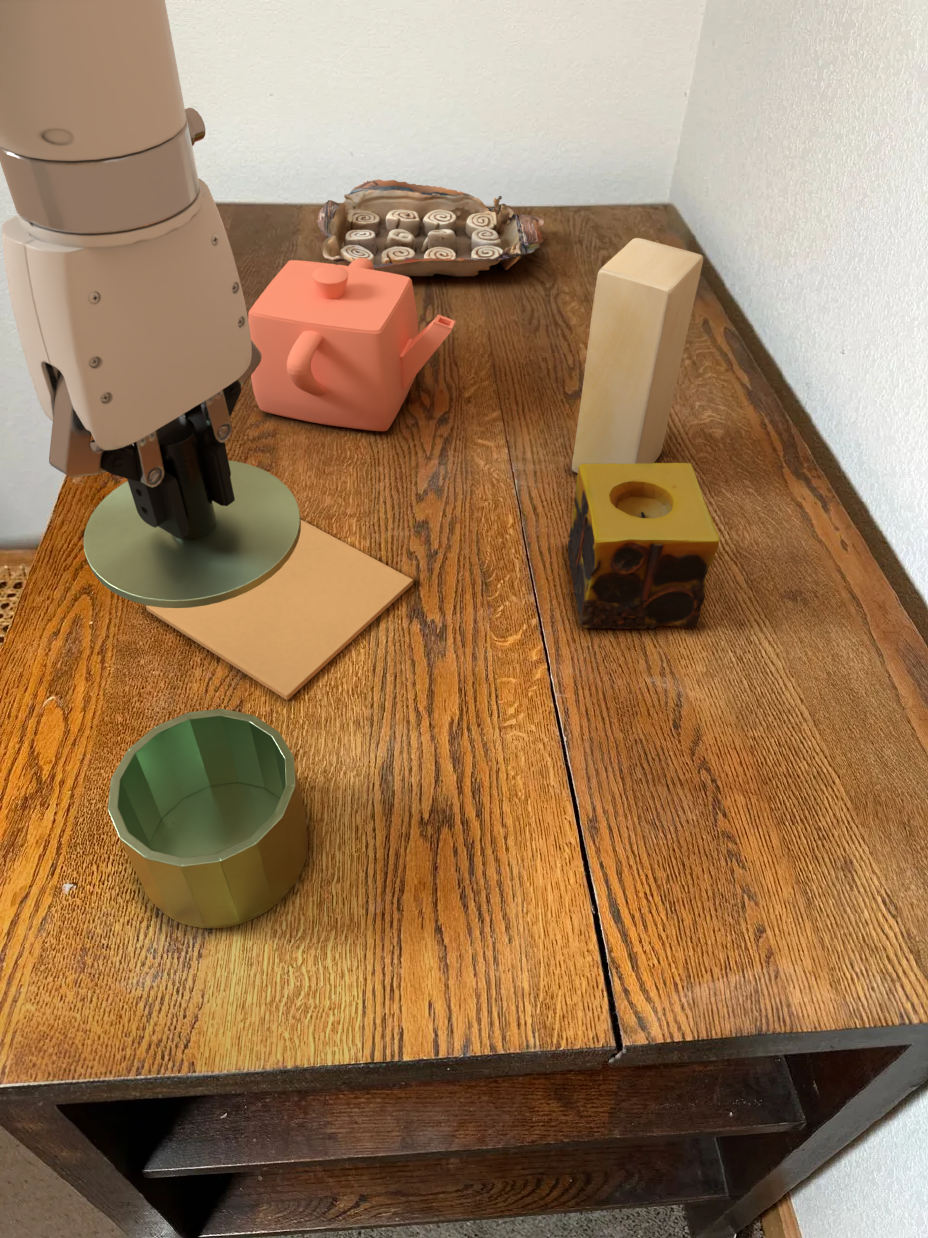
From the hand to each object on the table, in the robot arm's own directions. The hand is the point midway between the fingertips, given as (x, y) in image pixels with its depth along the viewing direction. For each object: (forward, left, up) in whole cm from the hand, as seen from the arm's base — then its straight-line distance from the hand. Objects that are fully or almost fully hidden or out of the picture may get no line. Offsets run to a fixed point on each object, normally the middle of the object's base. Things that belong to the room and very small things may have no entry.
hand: (189, 508), depth 52 cm
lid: (0, 0, -2) cm, 2 cm away
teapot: (+40, +22, -24) cm, 52 cm away
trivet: (+13, +9, -23) cm, 28 cm away
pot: (-7, -5, -23) cm, 25 cm away
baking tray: (+72, +37, -24) cm, 84 cm away
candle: (+32, -15, -24) cm, 42 cm away
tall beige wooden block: (+47, -5, -24) cm, 53 cm away
